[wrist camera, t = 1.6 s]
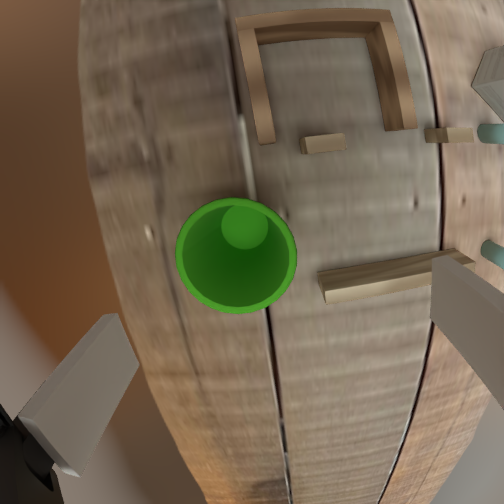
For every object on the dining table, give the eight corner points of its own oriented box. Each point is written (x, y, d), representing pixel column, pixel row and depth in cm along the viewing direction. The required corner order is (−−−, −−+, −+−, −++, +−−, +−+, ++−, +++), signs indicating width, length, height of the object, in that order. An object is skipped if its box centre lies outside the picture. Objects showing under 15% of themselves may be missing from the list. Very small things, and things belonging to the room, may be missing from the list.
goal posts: (476, 124, 27) (506, 122, 22) (489, 124, 27) (519, 124, 22) (480, 258, 33) (506, 275, 27) (492, 255, 32) (518, 271, 27)
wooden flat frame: (239, 36, 27) (234, 18, 22) (426, 30, 24) (446, 17, 20) (283, 289, 35) (286, 311, 30) (453, 259, 33) (474, 274, 28)
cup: (283, 269, 34) (289, 319, 24) (201, 261, 35) (174, 307, 24) (292, 187, 32) (305, 204, 21) (205, 179, 32) (175, 193, 21)
